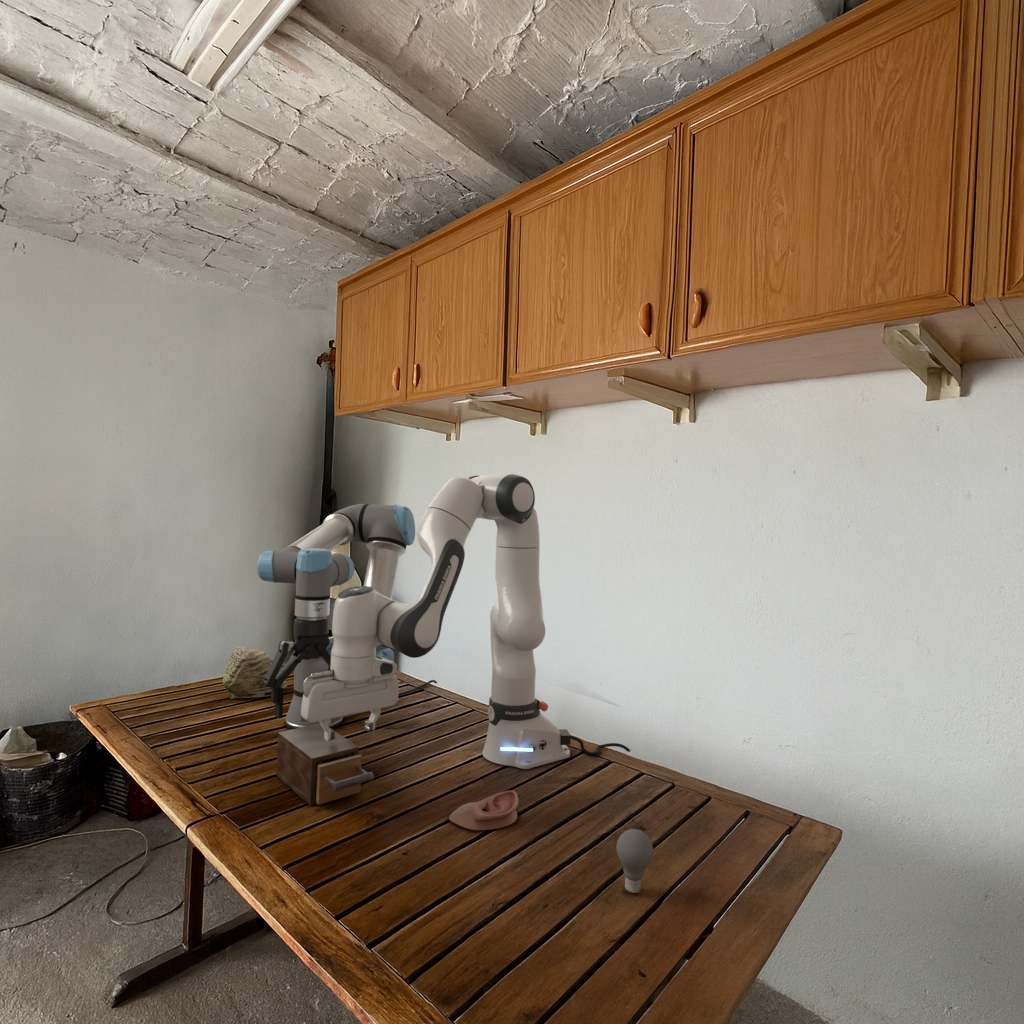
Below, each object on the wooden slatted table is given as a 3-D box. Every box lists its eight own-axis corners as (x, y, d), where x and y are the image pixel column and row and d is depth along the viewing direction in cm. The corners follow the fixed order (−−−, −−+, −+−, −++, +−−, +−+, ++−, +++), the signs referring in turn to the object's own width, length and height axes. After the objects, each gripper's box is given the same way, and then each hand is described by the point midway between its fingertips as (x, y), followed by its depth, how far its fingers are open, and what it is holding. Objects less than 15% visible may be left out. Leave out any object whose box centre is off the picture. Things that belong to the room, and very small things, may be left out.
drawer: (375, 803, 130) (376, 765, 130) (332, 817, 124) (334, 777, 124) (325, 765, 147) (326, 732, 147) (285, 776, 140) (287, 741, 140)
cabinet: (357, 791, 137) (358, 746, 137) (310, 806, 130) (312, 758, 129) (320, 763, 150) (322, 722, 150) (276, 775, 143) (277, 732, 143)
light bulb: (610, 879, 108) (613, 822, 108) (644, 879, 109) (647, 822, 109) (619, 902, 102) (622, 840, 102) (655, 901, 103) (658, 840, 103)
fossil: (218, 695, 195) (220, 647, 195) (278, 685, 208) (279, 640, 207) (228, 703, 189) (230, 653, 188) (289, 692, 201) (290, 645, 201)
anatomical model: (444, 806, 124) (461, 780, 135) (443, 826, 124) (460, 799, 135) (511, 815, 121) (522, 789, 132) (510, 836, 121) (521, 808, 132)
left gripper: (262, 625, 132) (258, 726, 132) (369, 615, 148) (365, 705, 149) (249, 619, 137) (245, 716, 137) (354, 610, 154) (350, 697, 154)
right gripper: (310, 678, 119) (307, 751, 119) (403, 663, 133) (400, 728, 133) (296, 670, 124) (294, 740, 124) (388, 657, 138) (385, 720, 138)
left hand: (308, 711), depth 143 cm, fingers open, 13 cm apart
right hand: (350, 734), depth 129 cm, fingers open, 8 cm apart
